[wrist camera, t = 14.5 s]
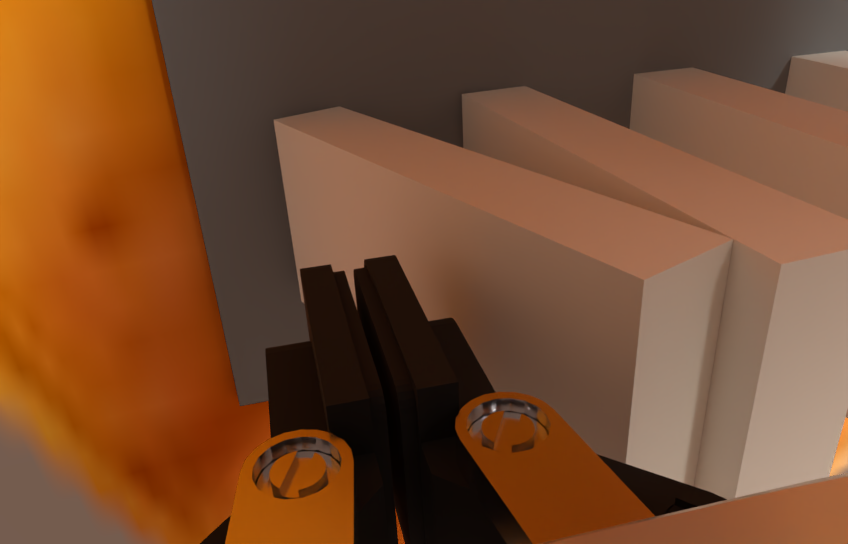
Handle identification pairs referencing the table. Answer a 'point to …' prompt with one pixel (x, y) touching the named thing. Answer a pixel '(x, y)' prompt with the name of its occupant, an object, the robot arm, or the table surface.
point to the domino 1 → (524, 276)
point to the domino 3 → (748, 132)
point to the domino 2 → (745, 288)
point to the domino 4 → (820, 78)
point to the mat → (415, 98)
